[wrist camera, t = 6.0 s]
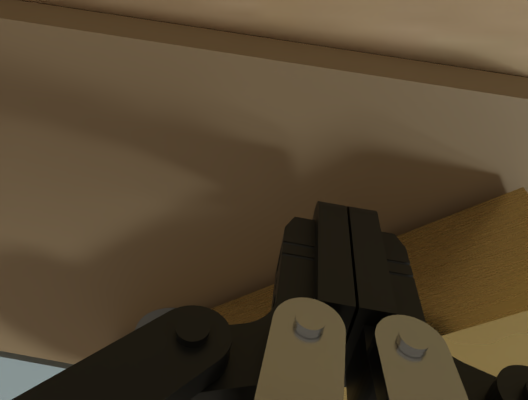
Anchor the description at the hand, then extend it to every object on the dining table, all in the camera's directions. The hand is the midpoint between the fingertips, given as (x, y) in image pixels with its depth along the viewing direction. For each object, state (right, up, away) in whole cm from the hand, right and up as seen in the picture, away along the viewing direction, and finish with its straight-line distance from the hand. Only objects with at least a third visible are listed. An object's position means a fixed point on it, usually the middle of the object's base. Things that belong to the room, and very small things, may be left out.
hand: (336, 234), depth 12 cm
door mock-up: (-5, -6, +10) cm, 13 cm away
